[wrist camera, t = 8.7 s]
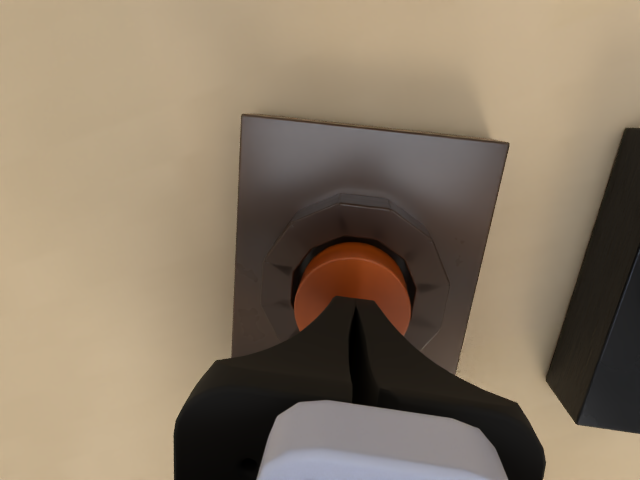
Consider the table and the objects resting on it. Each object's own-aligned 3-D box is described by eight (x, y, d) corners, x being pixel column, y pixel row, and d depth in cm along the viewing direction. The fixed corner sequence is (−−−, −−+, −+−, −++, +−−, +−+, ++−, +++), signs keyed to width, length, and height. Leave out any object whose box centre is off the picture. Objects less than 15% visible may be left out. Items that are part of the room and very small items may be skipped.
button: (396, 344, 16) (401, 370, 14) (296, 330, 16) (289, 354, 15) (414, 248, 15) (420, 265, 13) (305, 234, 15) (298, 250, 13)
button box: (437, 383, 21) (455, 444, 17) (242, 355, 21) (217, 408, 17) (492, 139, 17) (530, 146, 13) (254, 113, 17) (225, 113, 14)
